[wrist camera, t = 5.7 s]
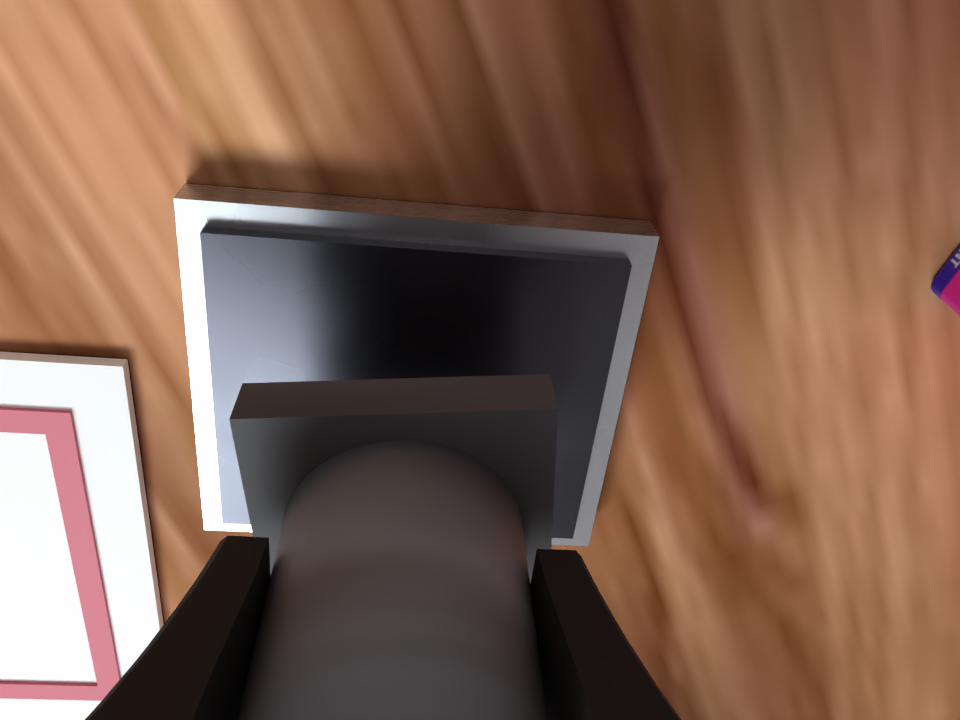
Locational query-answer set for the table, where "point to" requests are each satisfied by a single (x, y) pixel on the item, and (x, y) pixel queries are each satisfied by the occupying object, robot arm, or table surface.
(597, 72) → the table surface
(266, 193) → the ink pad
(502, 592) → the stamp
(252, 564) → the robot arm
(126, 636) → the marked sheet
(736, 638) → the table surface
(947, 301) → the supplement box
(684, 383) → the table surface
